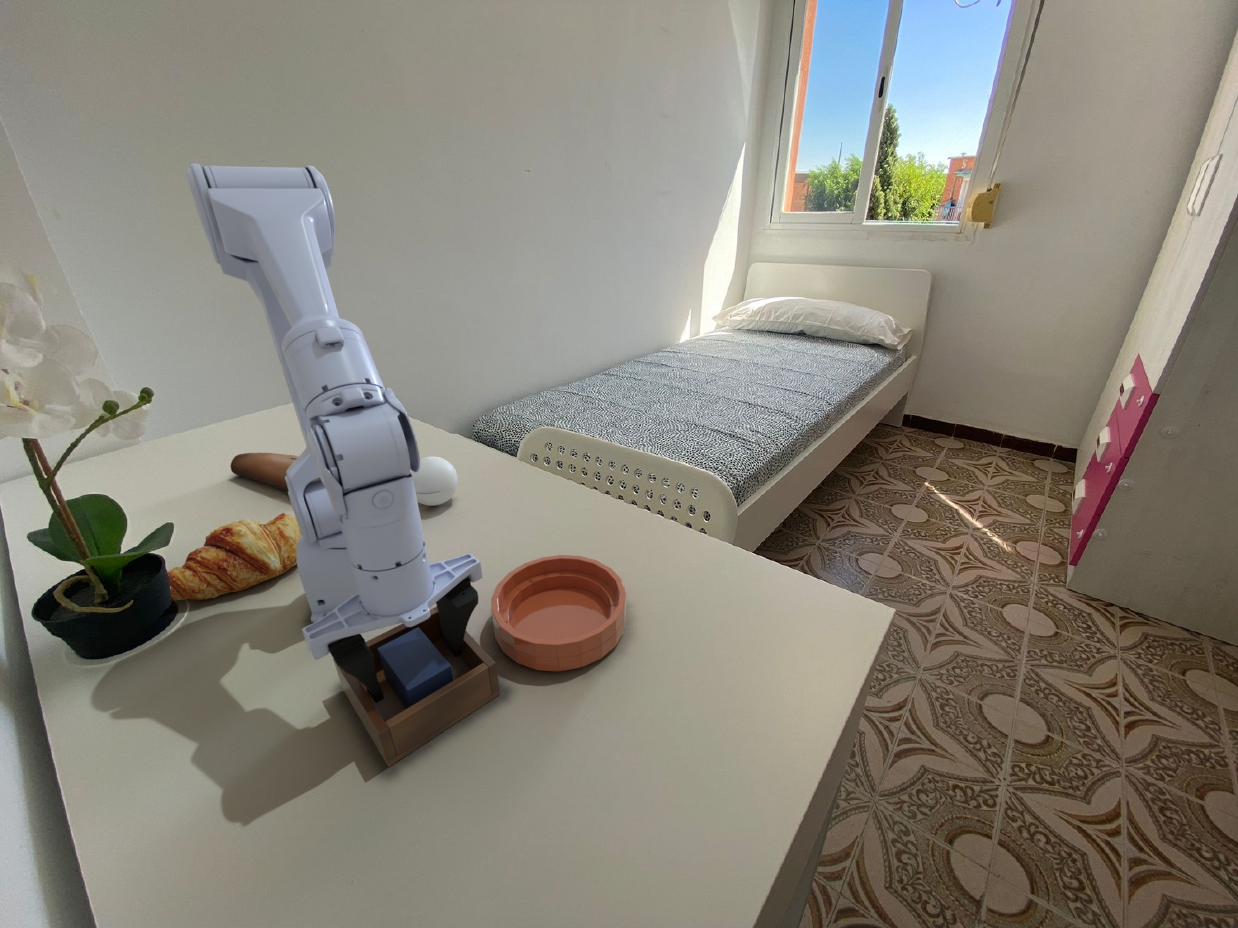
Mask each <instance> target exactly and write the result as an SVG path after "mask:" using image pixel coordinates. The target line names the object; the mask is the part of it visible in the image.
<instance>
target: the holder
mask: <svg viewBox="0 0 1238 928" xmlns="http://www.w3.org/2000/svg"><path fill="white" fill-rule="evenodd" d="M429 610H430V614H431V615H430V617H429V618H428V619H427V620H425V621H423V622H421V623H419V624H417V625H415V626H412V627H407V626H405V625H404V624H403V623H400V624H398V625H397V626H395V627H393V628H391V629H388V630H387V631H385V632H382V633H381V634H379V635H377V636H374V637H373V638H370V639H368V640H367V641H365V643H366V645H367V646H368V648H369V649H370V651H371V652H372V653H373V655H374V664H375V671H376V676H377V679H378V682H379V684H380V687H381V689H382V692H383V696H384V699H383V700H381V701H379V702H377V703H375V701H374V700H373V698H372V697H371V695H370V694H369V692H368V690H367V688H366V686H365V685H364V684H363V683H361V682H360V681H359V680H358V679H357V678H355V677H353V676H352V675H350V674H348V673H346V672H344V671H343V670H342V669H341V668H340V667H339V666H338V665H337V663H336V661H335V660H334V658H333V657H332V660H333V662H334V666H335V669H336V672H337V675H338V678H339V680H340V681H339V682H340V685H341V687H342V691H343V692H344V694H345V695H346V697H347V699H348V701H349V702H350V704H351V706H352V707H353V710H354V711H355V712H356V714H357V716H358V717H359V719H360V721H361V722H362V724H363V726H364V728H365V730H366V732H367V733H368V734H369V736H370V738H371V740H372V742H373V743H374V745H375V746H376V749H377V750H378V752H379V753H380V755H381V757H382V759H383V761H384V762H385V764H386V765H387V767H389V768H390V767H391V766H393V765H394V764H396V763H397V762H399V761H401V760H402V759H403V758H406V757H407V756H408V755H410V754H411V753H413V752H414V751H416V750H417V749H419V748H421V747H422V746H423V745H425V744H426V743H428V742H429V741H431V740H432V739H434V738H435V737H437V736H438V735H440V734H442V733H443V732H445V731H446V730H448V729H449V728H450V727H451V728H452V726H454V725H456V724H457V723H459V722H460V721H462V720H463V719H464V718H467V717H468V716H469V715H470V714H472V713H474V712H475V711H477V710H478V709H480V708H481V707H484V705H486V704H487V703H489V702H490V701H492V700H493V699H495V698H497V697H498V696H500V695H501V690H500V682H499V676H498V675H499V674H498V667H497V662H496V661H495V660H494V659H493V658H492V657H491V656H490V655H489V654H488V653H487V651H485V650H484V648H483V647H482V646H481V645H480V644H479V643H478V642H477V641H476V640H475V639H474V638H473V637H472V636H471V634H470V633H469V632H468V631H467V630H466V631H465V635H464V641H463V647H462V654H461V655H459V656H457V657H455V656H454V655H453V654H452V653H451V651H450V650H449V649H448V648H447V647H446V645H445V642H444V639H443V635H442V628H441V622H440V616H439V612H438V608H437V606H435V607H433V608H431V609H429ZM418 627H419V628H420V629H421V631H422V632H423V633H424V634H425V635H426V637H427V638H428V639H429V640H430V641H431V643H432V644H433V645H434V646H435V647H436V648H437V650H438V651H439V652H440V653H441V654H442V656H443V657H444V658H445V659H446V660H447V662H448V663H449V664H450V665H451V669H452V674H453V679H454V681H452V682H451V683H449V684H447V685H446V686H444V687H442V688H441V689H439V690H437V691H436V692H434V693H432V694H431V695H429V696H427V697H426V698H424V699H422V700H421V701H419V702H417V703H416V704H414V705H412V706H411V707H409V708H407V709H406V708H405V707H404V705H403V704H402V702H401V701H400V699H399V698H398V696H397V695H396V694H395V692H394V691H393V689H392V688H391V686H390V685H389V683H388V682H387V680H386V679H385V675H384V671H383V668H382V664H381V660H380V657H379V653H378V648H379V647H381V646H383V645H385V644H387V643H389V642H391V641H393V640H394V639H396V638H398V637H400V636H402V635H404V634H406V633H408V632H410V631H412V630H414V629H416V628H418Z"/></svg>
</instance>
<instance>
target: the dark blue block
mask: <svg viewBox="0 0 1238 928" xmlns="http://www.w3.org/2000/svg"><path fill="white" fill-rule="evenodd" d="M378 653H379V657H380V660H381V664H382V668H383V671H384V675H385V679H386V680H387V682H388V683H389V685H390V686H391V688H392V689H393V691H394V692H395V694H396V695H397V696H398V698H399V699H400V701H401V702H402V704H403V705H404V707H405V708H406V709H407V708H409V707H411V706H412V705H414V704H416V703H417V702H419V701H421V700H422V699H424V698H426V697H427V696H429V695H431V694H432V693H434V692H436V691H437V690H439V689H441V688H442V687H444V686H446V685H447V684H449V683H451V682H452V681H454V679H453V674H452V669H451V665H450V664H449V663H448V662H447V660H446V659H445V658H444V657H443V656H442V654H441V653H440V652H439V651H438V650H437V648H436V647H435V646H434V645H433V644H432V643H431V641H430V640H429V639H428V638H427V637H426V635H425V634H424V633H423V632H422V631H421V629H420V628H419V627H418V628H416V629H414V630H412V631H410V632H408V633H406V634H404V635H402V636H400V637H398V638H396V639H394V640H393V641H391V642H389V643H387V644H385V645H383V646H381V647H379V648H378Z"/></svg>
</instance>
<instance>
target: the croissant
mask: <svg viewBox="0 0 1238 928" xmlns="http://www.w3.org/2000/svg"><path fill="white" fill-rule="evenodd" d="M301 535H302V534H301V531H300V528H299V526H298V523H297V520H296V517H295V515H292V514H287V513H284V512H282V513H281V514H279V515H277V516H275V517H274V518H273V519H269V520H268V521H267V522H266V523H263V522H258V521H257V522H256V521H255V520H253V519H242V520H239V521H232V522H231V523H227V524H224V525H221V526H219V527H217V528H216V529H214V530H213V531H211V532H210V533H209V534H208V535H206V536H205V541H204V544H203V546H201V547H198V548H195V550H192V551H190V552H189V553H188V554H187V557H186V558H185V562H184V564H183V565H182V566H176V567H172V569H170V570H168V571H167V572H166V573H168V576H169V579H170V587H171V596H172V597H173V600H172V601H180V600H182V601H184V600H209V599H215V598H217V597H220V596H221V595H226V594H228V593H235V592H240V591H243V590H247V589H250V588H252V587H255V586H256V585H258V584H261V583H263V582H266V581H268V580H270V579H274V578H276V577H278V576H280V575H282V574H284V573H286V572H287V571H288V570H290V569H291V568H293V567H294V566H297V546H298V542H299V539H300V537H301Z"/></svg>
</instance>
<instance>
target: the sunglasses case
mask: <svg viewBox="0 0 1238 928" xmlns="http://www.w3.org/2000/svg"><path fill="white" fill-rule="evenodd" d="M298 457H299V455H294V454H293V455H292V454H283V453H274V452H245V453H240V454H236V455H235V456H234V457H233V458H232V460H231V462H230V471H231V473H232V474H234V475H236V476H239V477H242V478H243V477H244V478H247V479H250V480H254V481H256V482H259V483H261V484H264V485H267V486H270V487H273V488H275V489H278V490H280V491H283V492H286V493H288V491H289V490H288V487H287V484H286V481H285V477H286V475H287V474H286V471H287V469H288V468H289V467H290V465H291V464H292V463H293V462H294V461H295V460H296V459H297V458H298ZM319 479H320V478H317V479H315V480H319ZM315 480H312V481H315Z"/></svg>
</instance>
